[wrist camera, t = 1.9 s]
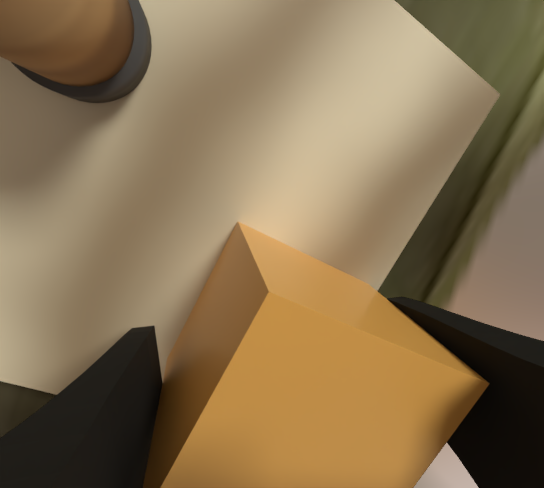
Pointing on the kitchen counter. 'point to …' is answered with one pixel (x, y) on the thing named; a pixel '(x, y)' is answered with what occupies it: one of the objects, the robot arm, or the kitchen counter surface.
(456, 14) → the kitchen counter surface
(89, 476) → the robot arm
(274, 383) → the tilted amber cube
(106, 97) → the board
